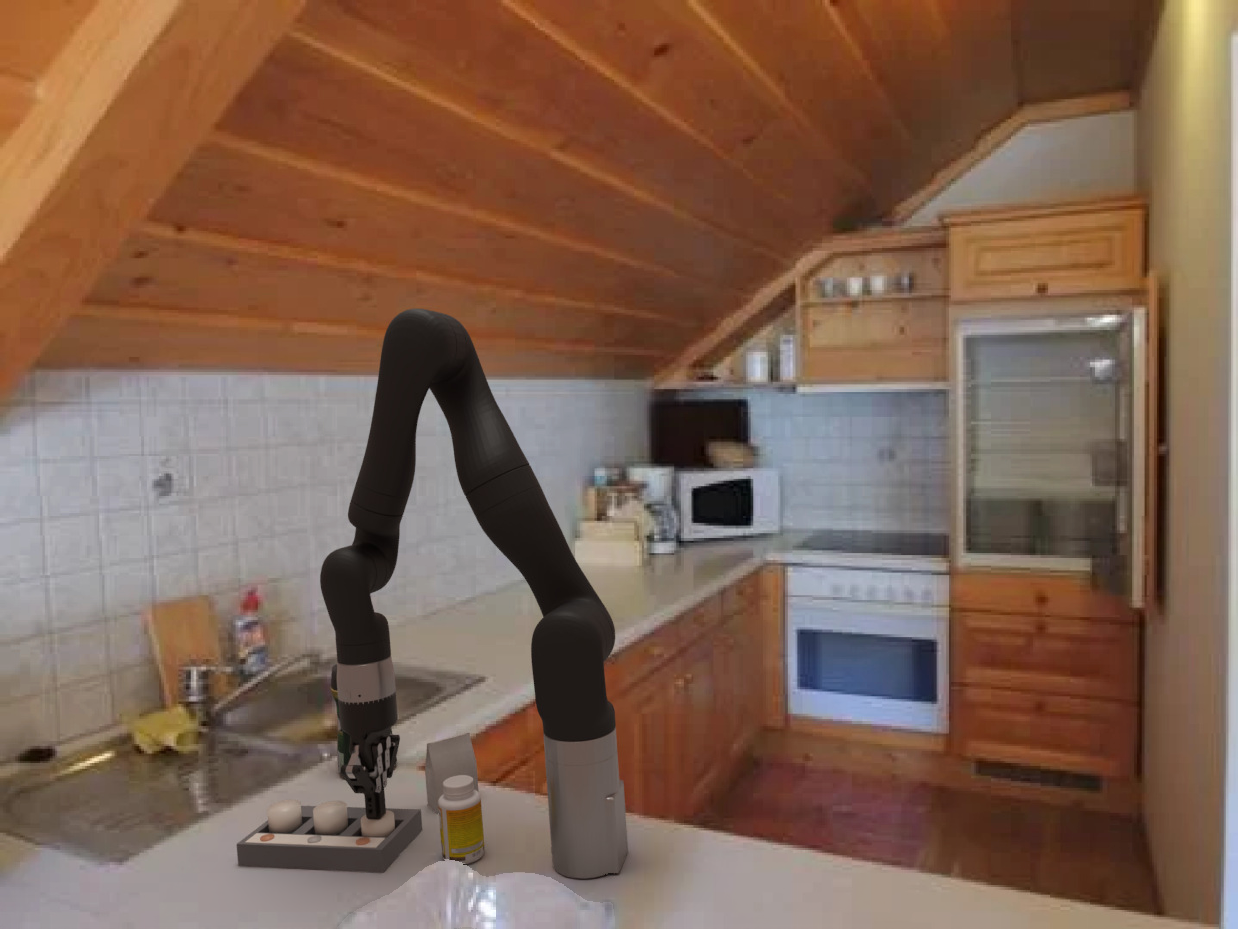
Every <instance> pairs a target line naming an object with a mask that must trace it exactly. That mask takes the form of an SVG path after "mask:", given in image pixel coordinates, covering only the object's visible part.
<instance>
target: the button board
mask: <svg viewBox="0 0 1238 929" xmlns="http://www.w3.org/2000/svg"><path fill="white" fill-rule="evenodd" d="M316 806H317V805H301V812H302V826H301V827H300V828H298V829H297V830H296V831H294V832H291V833H287V834H283V833H270V832H269V826H268V819H267V820H266V821H265V822H264V823H262V824H261V825H259V826H258V827H257V828H256V829H254V830H253V831H252V832H250V833H249V834H248V835H246V836H245V837H244V838H242V839H241V840H240V841H239V842H237V843H236V856H237V866H238V867H252V868H254V867H255V868H273V869H274V868H275V869H276V868H277V869H296V870H297V869H298V870H299V869H300V870H315V871H316V870H319V871H340V872H341V871H343V872H359V873H362V872H363V873H384V872H385V871H387V869H388V868H389V867H391V865H392V864H393V863H394V862H395V861H396V860H397V858H399V856H400V855H401V854H402V853H403V852H404V851H405V850H406V849H407V848H408V846H409V845H410V844H411V843H412V842H413V841H414V840H415V839H416V838H417V837H418V836H419V834H420V833H421V832H422V831H423V822H422V821H423V818H422V809H420V808H392V807H391V808H387V807H386V810H389V811H392V812H393V813H394V819H395V830H394V831H393V832H392V833H391V834H390V835H389V836H388V837H364V836H362V831H361V818H362V817H363V816H364V815H366V808H365V807H359V806H358V807H356V806H354V807H353V806H352V807H350V806H347V816H348V828H347V829H346V830H345V831H343V832H342V833H339V834H336V835H316V834H315V829H314V817H313V809H314V808H315V807H316Z"/></svg>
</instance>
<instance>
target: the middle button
mask: <svg viewBox="0 0 1238 929" xmlns="http://www.w3.org/2000/svg"><path fill="white" fill-rule="evenodd" d="M315 806H316V807H315V808H314V809H313V817H314V829H315V834H316V835H336V834H339V833H342V832H343V831H345V830H346V829H347V828H348V816H347V807H348V806H347V803H346V802H345V801H342V800H332V801H326V802H323V803H321V804H319V805H315Z"/></svg>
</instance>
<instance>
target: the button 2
mask: <svg viewBox="0 0 1238 929" xmlns="http://www.w3.org/2000/svg"><path fill="white" fill-rule="evenodd" d="M394 830H395V819H394V813H393V812H392V811H389V810H386V814H385V815H384V816H383V817H382V818H381V819H379V820H373V819H367V817H366V815H364V816H363V817H362V818H361V831H362V836H364V837H388V836H389V835H390V834H391V833H392V832H393V831H394Z"/></svg>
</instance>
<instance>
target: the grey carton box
mask: <svg viewBox="0 0 1238 929" xmlns="http://www.w3.org/2000/svg"><path fill="white" fill-rule="evenodd" d="M471 739H472V738H471V733H470V732H466V733H465V732H464V733H462V734H457V735H455V736H454V735H453V736H451V737H447V738H443V739H439V740H435V741H432V742H429V743H428V742H427V743H426V754H425V763H424V772H425V773H424V774H425V789H426V803H427V806H429V807H428V808H430V809H431V810H432V811H433V810H434V811H435V812H434V811H433V812H434V813H435V814H438V813H439V809H438V800H439V798H440V797H441V796H442V795H443V782H444V781H445V780H446V779H448V778H450V777H453V776H458V775H467V776H470V777H472V778H473V783H474V790H476V791H478V792H479V793H480V791H479V780H478V778H479V777H478V767H477V766H478V765H477V759H476V756H475V752H474V747H473V744H472V740H471ZM438 815H439V814H438Z"/></svg>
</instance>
